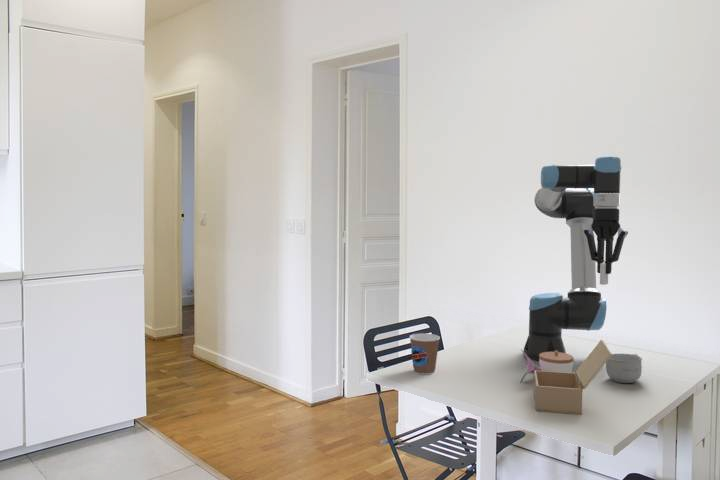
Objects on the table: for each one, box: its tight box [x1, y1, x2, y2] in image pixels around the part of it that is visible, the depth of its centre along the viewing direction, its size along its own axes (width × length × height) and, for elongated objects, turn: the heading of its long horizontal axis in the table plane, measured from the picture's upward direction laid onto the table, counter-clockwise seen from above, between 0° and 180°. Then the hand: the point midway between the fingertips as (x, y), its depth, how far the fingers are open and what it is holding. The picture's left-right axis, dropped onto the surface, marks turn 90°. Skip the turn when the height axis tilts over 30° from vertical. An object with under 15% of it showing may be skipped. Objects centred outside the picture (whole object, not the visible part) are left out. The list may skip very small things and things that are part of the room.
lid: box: [574, 339, 613, 390], centre depth 174 cm, size 12×16×1 cm
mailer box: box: [533, 370, 584, 415], centre depth 176 cm, size 12×16×7 cm
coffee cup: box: [408, 333, 441, 375], centre depth 208 cm, size 10×10×12 cm
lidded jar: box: [538, 350, 574, 373], centre depth 200 cm, size 11×11×9 cm
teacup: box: [605, 353, 643, 384], centre depth 199 cm, size 14×11×8 cm
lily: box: [519, 349, 542, 384], centre depth 197 cm, size 12×12×10 cm
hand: (603, 284), depth 190 cm, fingers closed
